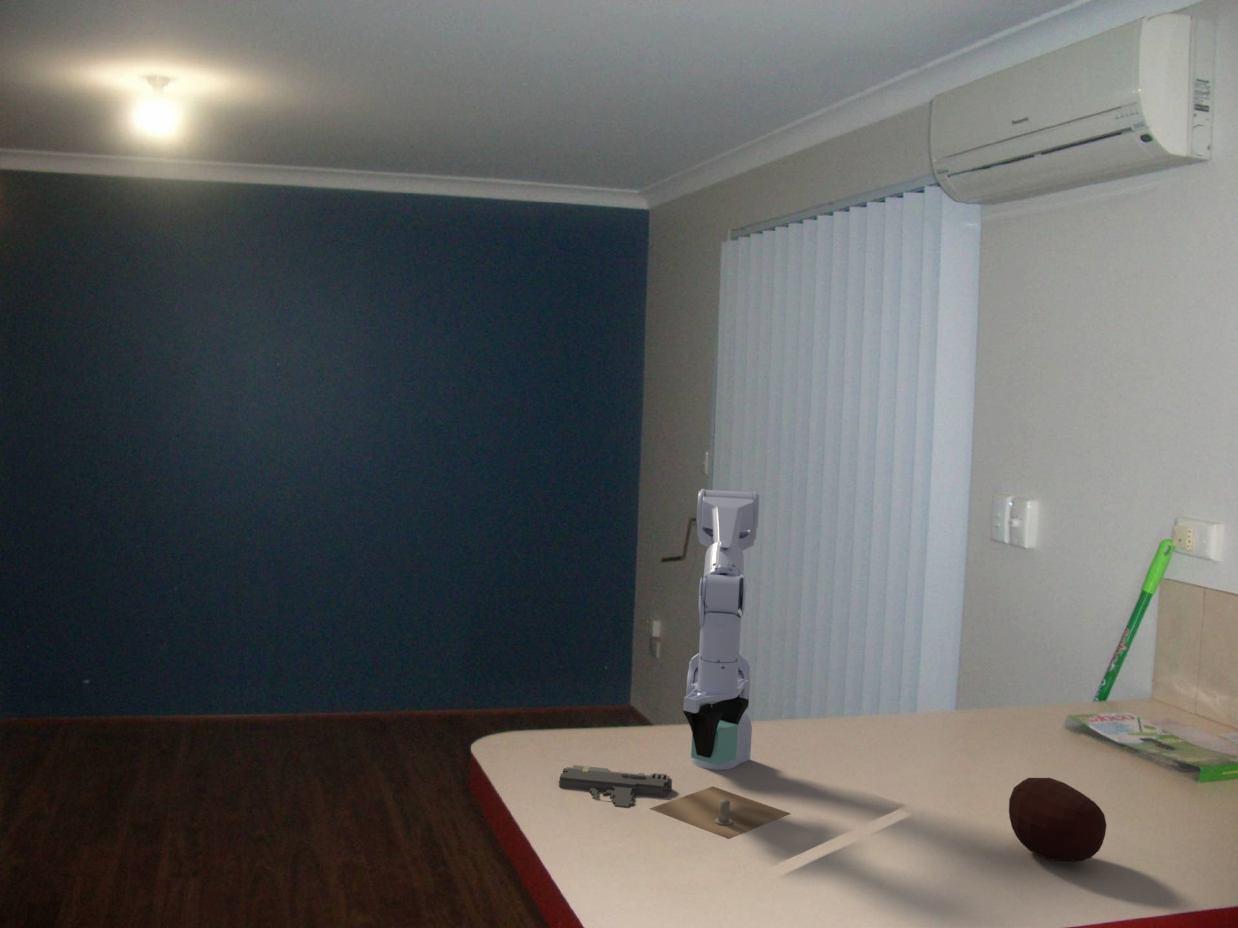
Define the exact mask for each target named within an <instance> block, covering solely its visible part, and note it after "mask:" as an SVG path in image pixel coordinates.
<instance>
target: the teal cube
mask: <svg viewBox="0 0 1238 928" xmlns="http://www.w3.org/2000/svg"><path fill="white" fill-rule="evenodd" d="M737 733H738V725H737V724H734V723H730V722H727V721H723V720H720V722H719V724H718V727H717V730H716V734H715V741H714V748H713V752H712V755H711V757H710V758H706V757H703V756H699V755H697V753H696V749H695V743H694V738H693V734H692V736H691V753H690V758H691V759H692V758H694V759H697V760H701V761H704V762H707V763H710V764H713V765H716V766H717V765H720V764H723V763H725V762H728V761H731V760H734V759H736V751H737Z"/></svg>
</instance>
